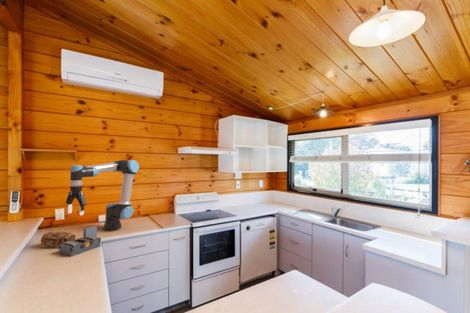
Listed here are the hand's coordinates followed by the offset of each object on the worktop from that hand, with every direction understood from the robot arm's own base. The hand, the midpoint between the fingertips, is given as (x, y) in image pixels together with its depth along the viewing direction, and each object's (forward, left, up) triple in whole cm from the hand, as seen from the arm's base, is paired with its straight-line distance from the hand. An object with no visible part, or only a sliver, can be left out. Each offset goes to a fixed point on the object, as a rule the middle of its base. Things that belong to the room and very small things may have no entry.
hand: (75, 214), depth 176 cm
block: (-12, 0, -23) cm, 26 cm away
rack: (+3, +12, -23) cm, 27 cm away
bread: (+6, -9, -24) cm, 26 cm away
